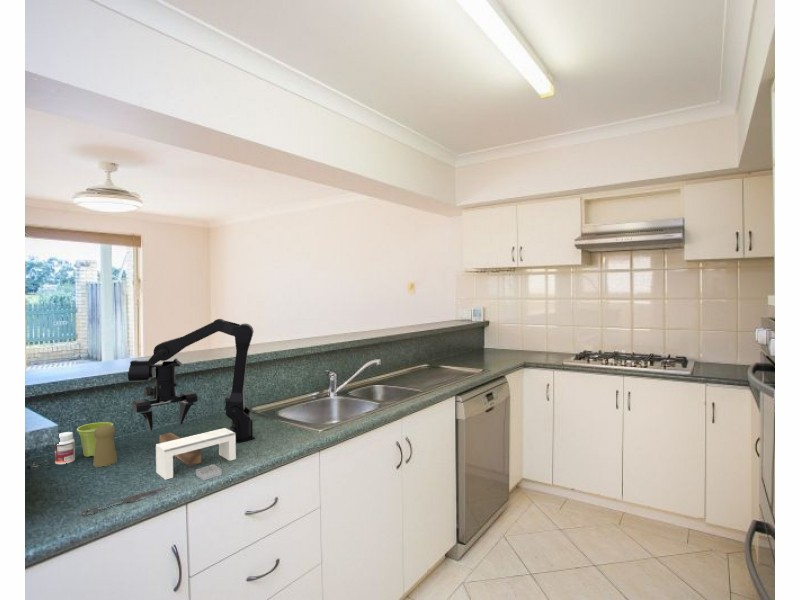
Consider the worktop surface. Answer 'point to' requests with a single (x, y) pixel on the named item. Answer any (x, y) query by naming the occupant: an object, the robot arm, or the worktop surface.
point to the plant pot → (89, 437)
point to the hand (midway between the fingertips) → (166, 427)
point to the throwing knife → (127, 500)
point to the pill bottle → (65, 448)
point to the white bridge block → (194, 448)
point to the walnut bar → (187, 457)
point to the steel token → (208, 472)
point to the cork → (104, 446)
